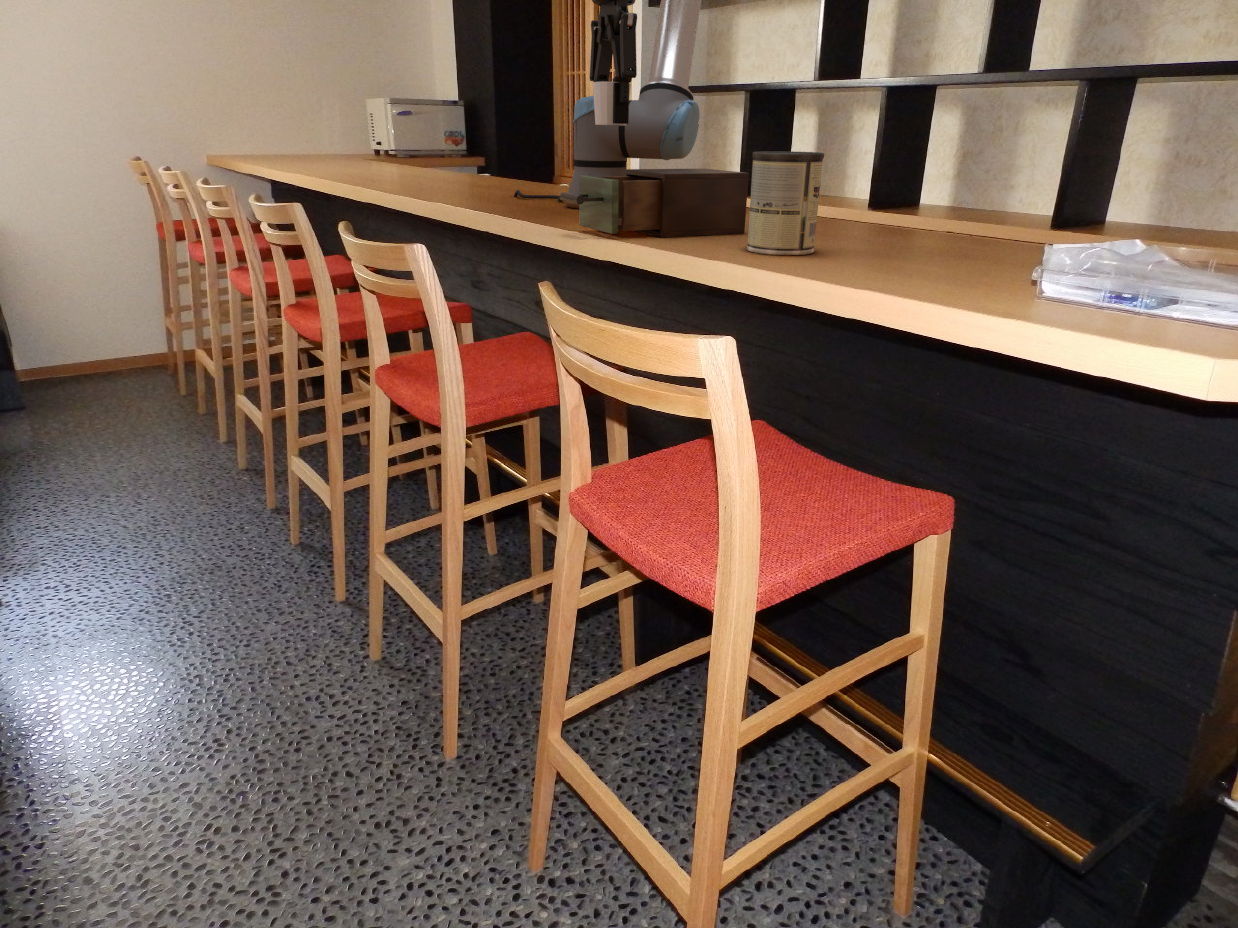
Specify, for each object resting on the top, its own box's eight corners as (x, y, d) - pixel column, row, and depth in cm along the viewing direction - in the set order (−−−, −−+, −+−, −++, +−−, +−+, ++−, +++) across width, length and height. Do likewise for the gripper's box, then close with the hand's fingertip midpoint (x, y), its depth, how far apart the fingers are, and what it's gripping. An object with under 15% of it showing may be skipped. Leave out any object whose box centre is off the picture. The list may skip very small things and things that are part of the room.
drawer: (584, 235, 135) (584, 180, 131) (553, 226, 145) (552, 175, 142) (693, 230, 143) (695, 179, 140) (656, 222, 154) (657, 174, 151)
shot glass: (633, 126, 153) (635, 84, 151) (625, 125, 147) (626, 81, 145) (597, 125, 155) (598, 83, 152) (587, 124, 149) (587, 81, 146)
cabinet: (662, 237, 140) (664, 174, 137) (624, 228, 152) (625, 169, 148) (744, 233, 147) (748, 173, 144) (702, 225, 159) (704, 168, 155)
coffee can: (744, 245, 133) (751, 150, 128) (810, 247, 132) (819, 152, 127) (747, 254, 124) (754, 152, 118) (818, 256, 123) (828, 154, 117)
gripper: (570, -16, 149) (570, 123, 158) (619, -34, 133) (616, 122, 141) (609, -12, 152) (606, 124, 161) (661, -29, 136) (655, 124, 144)
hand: (611, 123), depth 151 cm, fingers closed on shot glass, 7 cm apart
